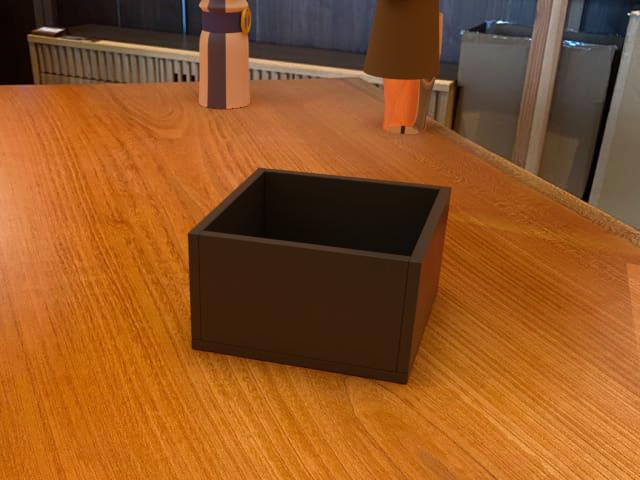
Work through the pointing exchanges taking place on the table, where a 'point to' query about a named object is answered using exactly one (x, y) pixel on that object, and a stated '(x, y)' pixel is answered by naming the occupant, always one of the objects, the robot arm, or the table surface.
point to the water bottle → (224, 54)
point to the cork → (404, 40)
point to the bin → (319, 271)
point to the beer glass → (408, 100)
